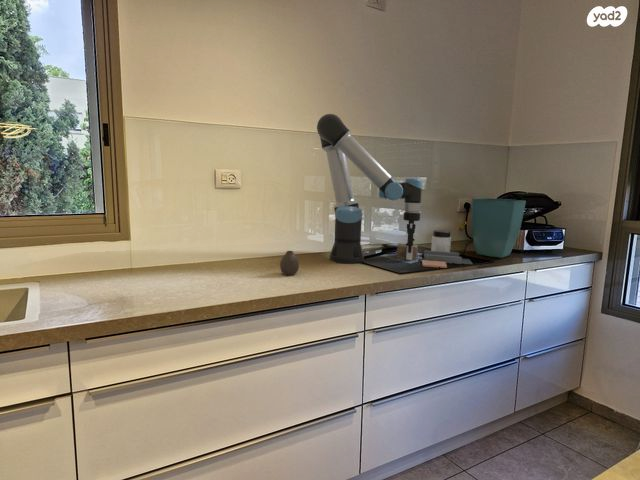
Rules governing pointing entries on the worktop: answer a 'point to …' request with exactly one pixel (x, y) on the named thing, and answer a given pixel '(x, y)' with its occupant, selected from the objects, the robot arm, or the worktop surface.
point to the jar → (441, 241)
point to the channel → (443, 257)
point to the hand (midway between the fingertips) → (409, 257)
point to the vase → (289, 264)
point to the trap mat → (466, 262)
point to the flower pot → (496, 225)
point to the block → (403, 251)
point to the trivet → (434, 264)
